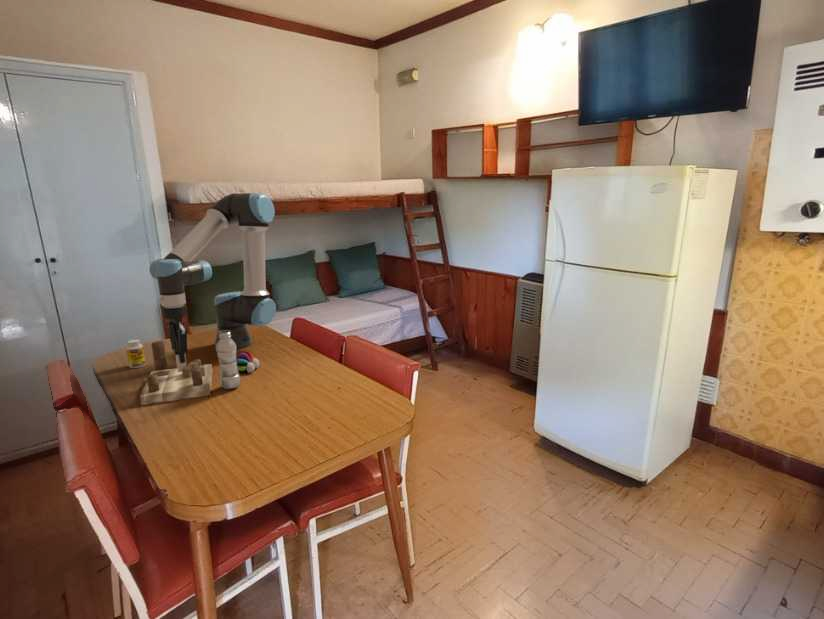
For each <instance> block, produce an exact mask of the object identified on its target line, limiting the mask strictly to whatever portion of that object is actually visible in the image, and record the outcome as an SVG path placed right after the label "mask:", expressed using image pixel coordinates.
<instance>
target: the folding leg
mask: <svg viewBox="0 0 824 619" xmlns="http://www.w3.org/2000/svg"><path fill="white" fill-rule="evenodd" d="M200 365H202V360H201V359H199V358H198V359H194V360H192V361H190V362H189V363H187V364H186V366H185V367H184V368H182V373H183V377H190V376H192V374H191V370H193V369H199V366H200Z"/></svg>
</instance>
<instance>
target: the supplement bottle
mask: <svg viewBox="0 0 824 619" xmlns="http://www.w3.org/2000/svg"><path fill="white" fill-rule="evenodd" d="M125 349H126V357H127V361H128V362H127V363H128V366H129V368H131V369H137V368H142V367H144V366H145V365H146V358H145V353H144V346H143V344H141V342H140V339H131V340H128V341H127V346H126V347H125Z"/></svg>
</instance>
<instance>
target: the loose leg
mask: <svg viewBox="0 0 824 619" xmlns="http://www.w3.org/2000/svg"><path fill="white" fill-rule="evenodd" d="M151 350H152V356H153V362H154V368H155V370H154V371H160V370H168V369H169V368H168V362H167V357H166V356H167V354H166V350H165V343H164V341H161V340H160V341H154V342H152V343H151Z"/></svg>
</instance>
